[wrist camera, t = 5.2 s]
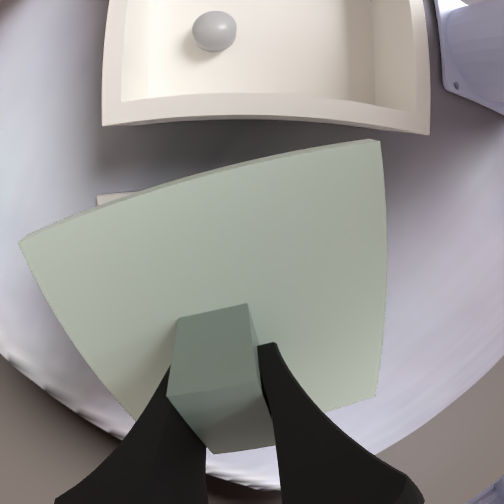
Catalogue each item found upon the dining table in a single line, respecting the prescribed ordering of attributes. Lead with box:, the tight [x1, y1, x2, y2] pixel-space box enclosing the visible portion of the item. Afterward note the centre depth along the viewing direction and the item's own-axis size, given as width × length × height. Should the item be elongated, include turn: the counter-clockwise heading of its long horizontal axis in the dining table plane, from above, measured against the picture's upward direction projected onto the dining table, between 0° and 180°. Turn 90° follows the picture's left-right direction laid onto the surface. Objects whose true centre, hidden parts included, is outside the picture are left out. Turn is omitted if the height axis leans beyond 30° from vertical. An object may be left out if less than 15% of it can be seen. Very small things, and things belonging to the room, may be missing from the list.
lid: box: [18, 139, 387, 454], centre depth 10 cm, size 13×13×5 cm
